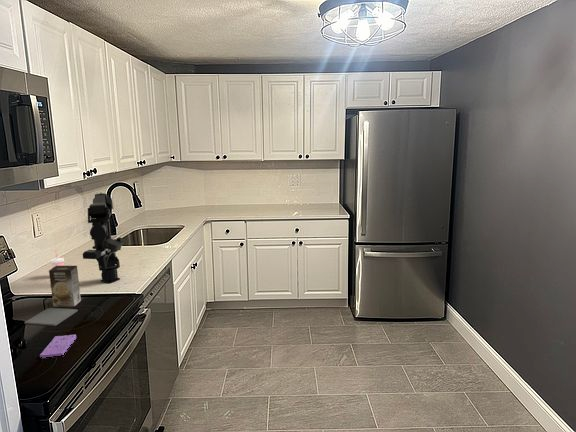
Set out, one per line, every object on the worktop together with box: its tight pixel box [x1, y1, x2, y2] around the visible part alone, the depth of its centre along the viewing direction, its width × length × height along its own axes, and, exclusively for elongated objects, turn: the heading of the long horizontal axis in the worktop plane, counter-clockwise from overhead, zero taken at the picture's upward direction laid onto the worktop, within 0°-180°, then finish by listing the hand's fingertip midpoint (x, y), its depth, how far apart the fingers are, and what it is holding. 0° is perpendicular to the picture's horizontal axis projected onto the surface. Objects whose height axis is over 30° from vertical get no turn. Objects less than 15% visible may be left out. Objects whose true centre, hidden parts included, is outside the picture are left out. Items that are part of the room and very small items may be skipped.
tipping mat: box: [24, 307, 78, 327], centre depth 163 cm, size 13×13×1 cm
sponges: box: [39, 334, 77, 359], centre depth 140 cm, size 7×13×2 cm, turn 8°
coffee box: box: [48, 265, 82, 308], centre depth 174 cm, size 9×6×16 cm
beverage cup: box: [50, 249, 65, 269], centre depth 207 cm, size 6×6×14 cm
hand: (104, 268), depth 180 cm, fingers closed
